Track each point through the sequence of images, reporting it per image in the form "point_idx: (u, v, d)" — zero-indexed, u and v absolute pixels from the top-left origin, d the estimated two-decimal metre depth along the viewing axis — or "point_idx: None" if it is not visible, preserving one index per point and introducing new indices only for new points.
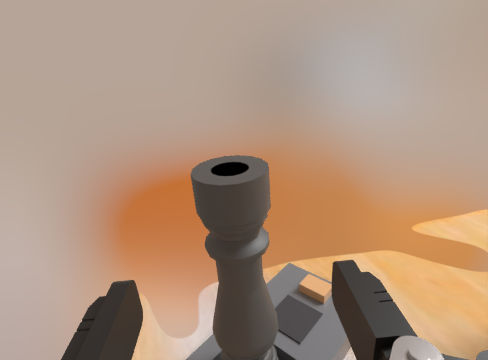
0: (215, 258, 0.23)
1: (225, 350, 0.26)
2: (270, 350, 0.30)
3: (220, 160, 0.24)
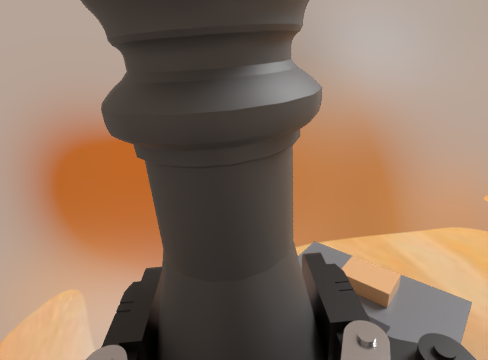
0: (121, 128, 0.06)
1: None
2: None
3: None
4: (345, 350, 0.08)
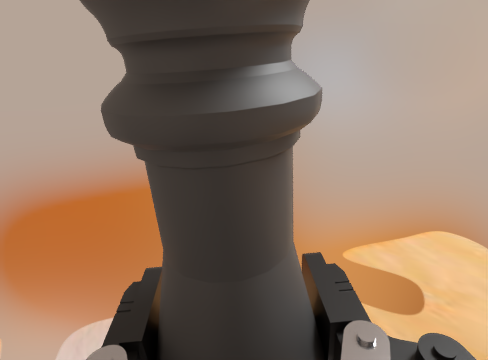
0: (121, 129, 0.06)
1: None
2: None
3: None
4: (345, 350, 0.08)
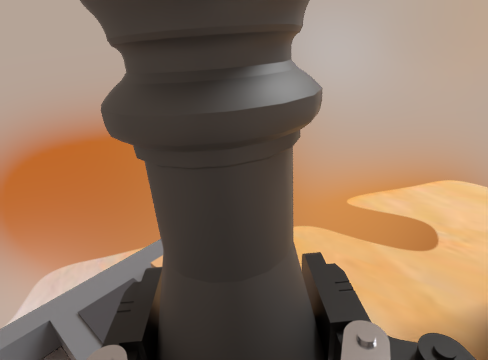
0: (121, 128, 0.06)
1: None
2: None
3: None
4: (345, 350, 0.08)
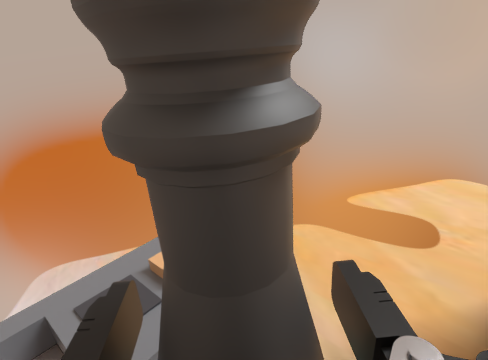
0: (122, 149, 0.06)
1: None
2: None
3: None
4: None
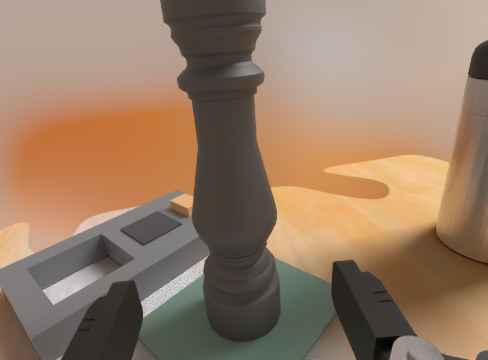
0: (189, 85, 0.17)
1: (207, 236, 0.20)
2: (266, 253, 0.23)
3: None
4: None
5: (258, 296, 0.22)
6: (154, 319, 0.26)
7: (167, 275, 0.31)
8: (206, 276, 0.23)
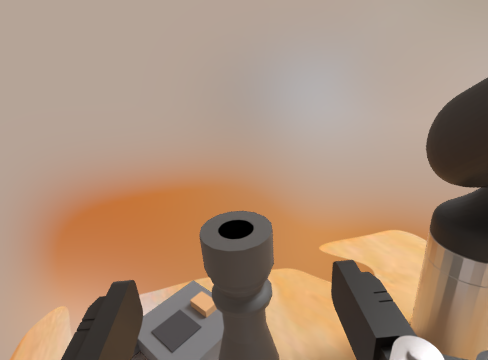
0: (221, 311, 0.24)
1: None
2: None
3: (226, 217, 0.25)
4: None
5: None
6: None
7: None
8: None
